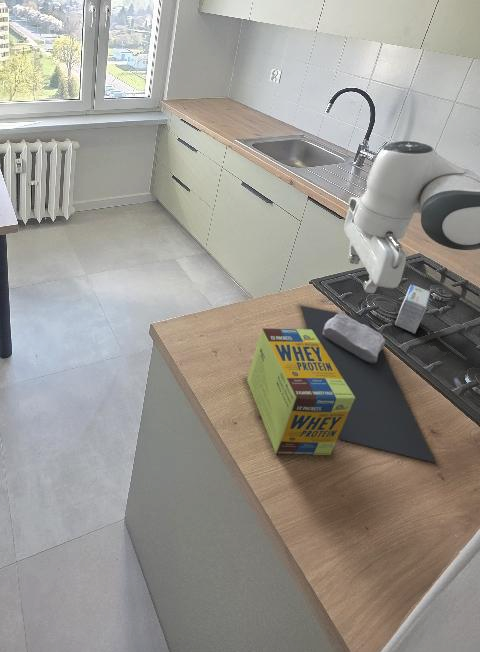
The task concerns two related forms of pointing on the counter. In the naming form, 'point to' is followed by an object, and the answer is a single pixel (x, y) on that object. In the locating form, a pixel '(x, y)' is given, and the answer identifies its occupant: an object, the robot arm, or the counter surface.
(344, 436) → the mat
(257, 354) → the protein box
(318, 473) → the counter surface
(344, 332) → the stone block
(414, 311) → the medicine box
